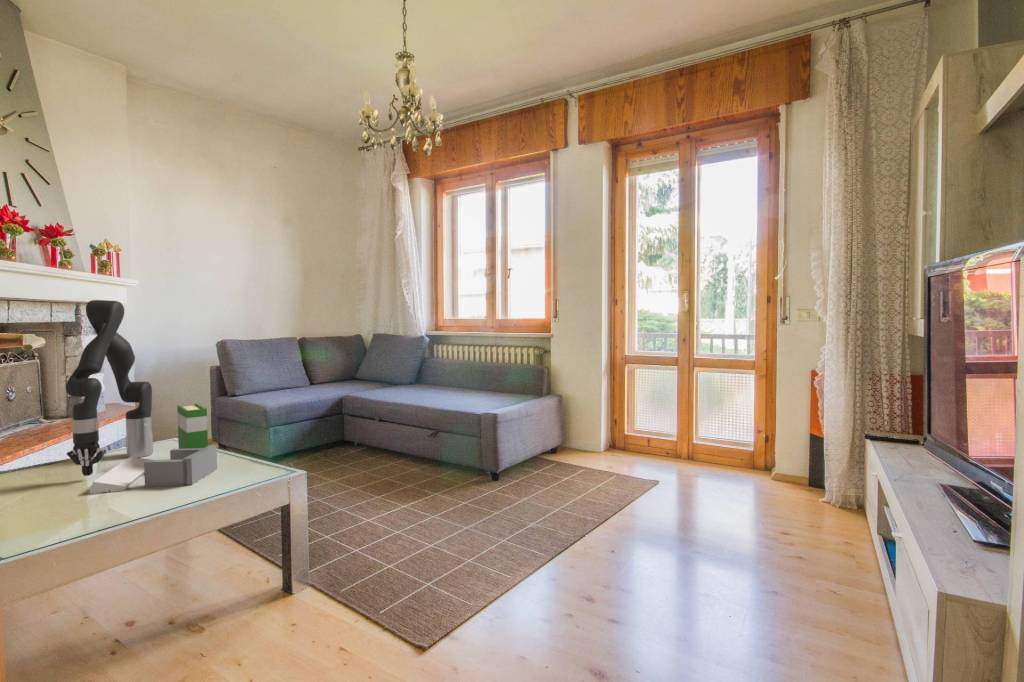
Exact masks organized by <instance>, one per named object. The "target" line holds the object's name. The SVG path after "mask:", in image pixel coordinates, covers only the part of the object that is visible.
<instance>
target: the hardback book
mask: <svg viewBox="0 0 1024 682" xmlns="http://www.w3.org/2000/svg"><path fill="white" fill-rule="evenodd" d="M176 408H177V410H176V411H177V436H178V439H177V440H178V449H187V448H205V447H207V446H209V443H208V442H209V441H208V440H209V438H208V437H209V436H208V409H207V408H206V407H204V406H203V405H200V404H199V403H194V404H193V405H186V406H182V405H181V404H178V405H177V407H176Z"/></svg>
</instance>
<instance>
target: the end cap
mask: <svg viewBox="0 0 1024 682" xmlns="http://www.w3.org/2000/svg"><path fill="white" fill-rule="evenodd" d="M217 450H218V449H217V445H215V444H214V445H213V444H212V445H208V446H207V447H205V448H187V449H179V448H172V449H170V450H169V455H170V456H169V457H170V459H158V460H157V459H156V460H155V459H150V460H148V461H146V462H144V474H143V475H144V487H169V486H170V487H171V486H175V485H177V486H192V485H191V484H193V485H194V483H195V482H196V483H198V482H199V481H198V480H200V479H201V478H203V477H204V478H206V477H207V476H206V475H208V474H209V475H211V474H212V473H214V472H215V471H214V470H216V469H217V470H218V456H217V455H218V453H217V452H218V451H217ZM217 470H216V471H217ZM213 471H214V472H213ZM211 472H212V473H211ZM210 473H211V474H210ZM209 475H208V476H209ZM205 476H206V477H205ZM204 478H203V479H204ZM201 480H202V479H201ZM201 480H200V481H201ZM197 481H198V482H197ZM196 483H195V484H196ZM175 487H176V486H175Z"/></svg>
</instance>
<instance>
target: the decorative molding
mask: <svg viewBox="0 0 1024 682" xmlns="http://www.w3.org/2000/svg"><path fill="white" fill-rule="evenodd" d="M148 460H151V459H148V458H145V457H131V456H130V457H127V458H125V459H124V460H123V461H121V462H120V463H118V464H117V465H116V466H114V467H113V468H111V469H109V470H108V471H106V472H105V473H104V474H102V475H101V476H99V477H98V478H97V479H95V480H94V481H93V482H92V484H91V487H90V491H89V495H96V494H103V493H109V492H110V493H115V492H124V491H125V490H126V489H128V488H129V487H130V486H132V485H133V484H134V483H135V482H137V480H139V479H140V478H141V477H143V475H144V462H146V461H148ZM138 478H139V479H138Z"/></svg>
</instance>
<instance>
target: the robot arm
mask: <svg viewBox="0 0 1024 682" xmlns="http://www.w3.org/2000/svg"><path fill="white" fill-rule="evenodd" d="M85 306H86V307H85V313H86V317H87V320H88V321H89V323H90V325H91V326H92V328H93V330H94V332H95V334H96V336H95V337H94V338H93V339H92V340H90V342H89V343H87V345H86V346H85V347H84V348H83V350H82V352H81V356H80V359H79V362H78V365H77V367H76V368H75V370H74V371H73V372H72V373H71V375H70V376H69V378H68V379H67V381H66V383H65V392H66V394H68V396H70V397H75V398H79V397H82V398H83V397H84V399H83V401H82V402H78V403H75V404H74V405H72V443H73V444H74V445H73V446H72V450H70V451H68V452H66V456H67V457H69V458H70V460H71V461H72V462H73V463H74V464H75V465H76V466H81V473H82V475H83V476H84V477H87V476H88V477H89V476H91V475H92V474H94V466H93V465H95V464H98V463H99V462H100V461H101V459H102V458H103V456H104V455H105V454H106V452H107V450H106V449H102V448H101V447H100V444H99V441H100V435H99V434H100V433H99V432H100V431H99V429H100V428H99V421H98V408H97V407H98V404H99V399H100V397H101V394H102V389H103V386H102V383H101V381H100V380H99V379H97V378H95V377H90V376H92V375H95V374H98V373H100V372H101V371H102V368H103V366H104V362H105V359H106V360H107V362H108V363H109V366H110V368H111V371H112V374H113V376H114V379H115V382H116V387H117V390H118V395H119V397H120V398H121V400H122V401H123V402H124V403H138V406H137V407H136V408H133V409H131V410H128V411H126V413H125V436H126V439H125V440H126V457H127V458H129V457H130V456H131V457H137V458H144V457H147V456H150V455H152V454H153V453H154V441H153V439H154V438H153V437H154V436H153V431H152V408H153V407H152V406H153V405H152V404H153V388H152V384H151V383H150V382H149V381H131V380H130V377H129V373H130V371H131V370H132V367H133V365H134V364H135V361H136V355H135V354H134V351H133V348H132V345H131V343H130V342H129V341H128V340H127V339H126V338H124V337H123V336H122V335H120V334H119V332H117V331H118V330H119V327H120V326H121V324H122V322H123V319H124V316H125V307H124V304H122V302H121V301H117V300H105V299H102V300H101V299H96V300H95V299H92V300H89V301H88V302H87V304H86V305H85Z"/></svg>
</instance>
